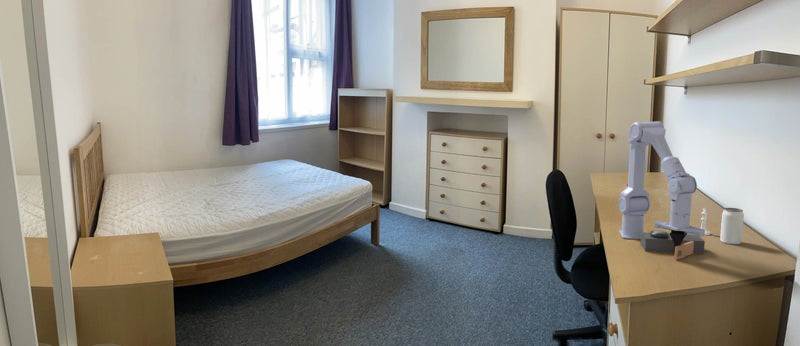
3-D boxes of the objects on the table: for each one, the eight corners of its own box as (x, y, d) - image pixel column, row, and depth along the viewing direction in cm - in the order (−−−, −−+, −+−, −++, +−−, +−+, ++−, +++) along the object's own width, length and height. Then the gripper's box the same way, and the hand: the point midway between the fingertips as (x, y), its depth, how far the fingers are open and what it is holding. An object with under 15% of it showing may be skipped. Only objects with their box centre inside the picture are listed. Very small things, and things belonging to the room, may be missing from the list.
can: (721, 238, 182) (723, 206, 180) (742, 241, 178) (745, 208, 176) (718, 242, 177) (721, 210, 175) (740, 246, 173) (743, 212, 171)
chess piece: (705, 231, 191) (706, 206, 190) (713, 234, 187) (715, 209, 185) (692, 231, 191) (694, 206, 190) (700, 235, 186) (702, 209, 185)
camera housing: (640, 244, 178) (641, 228, 177) (696, 247, 174) (698, 230, 173) (645, 251, 171) (646, 234, 170) (703, 254, 167) (705, 236, 166)
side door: (674, 259, 162) (675, 246, 161) (690, 252, 167) (691, 240, 167) (678, 260, 161) (679, 247, 160) (695, 254, 166) (695, 241, 165)
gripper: (651, 211, 164) (649, 250, 167) (700, 219, 154) (697, 261, 156) (660, 207, 169) (658, 245, 171) (708, 214, 158) (705, 255, 161)
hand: (677, 252), depth 164 cm, fingers closed, pressing on side door
